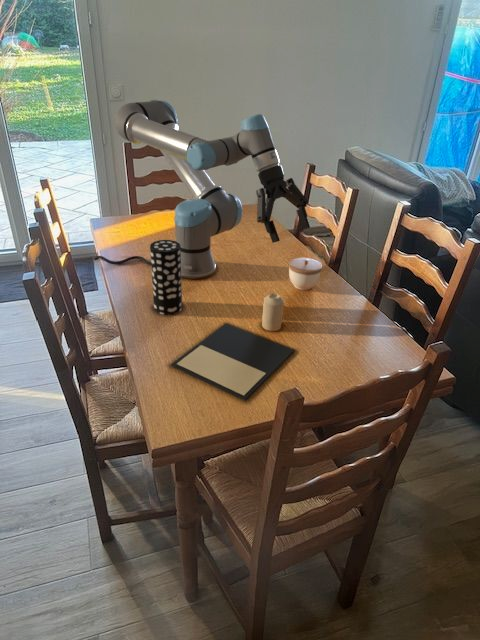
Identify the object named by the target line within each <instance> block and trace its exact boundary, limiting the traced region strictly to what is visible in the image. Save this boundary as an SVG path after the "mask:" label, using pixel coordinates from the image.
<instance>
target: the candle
mask: <svg viewBox="0 0 480 640" xmlns="http://www.w3.org/2000/svg"><path fill="white" fill-rule="evenodd" d="M284 303H285V301H284V298H283V297H282V296H281V295H280V294H277V293H276V292H271V293H270V294H268V295H266V296H265V297H264V298H263V306H262V317H261V318H262V319H261V327H262V328H263V329H264V330H266V331H268V332H277V331H279V330H281V328H282V324H283V323H282V321H283V312H284Z"/></svg>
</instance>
